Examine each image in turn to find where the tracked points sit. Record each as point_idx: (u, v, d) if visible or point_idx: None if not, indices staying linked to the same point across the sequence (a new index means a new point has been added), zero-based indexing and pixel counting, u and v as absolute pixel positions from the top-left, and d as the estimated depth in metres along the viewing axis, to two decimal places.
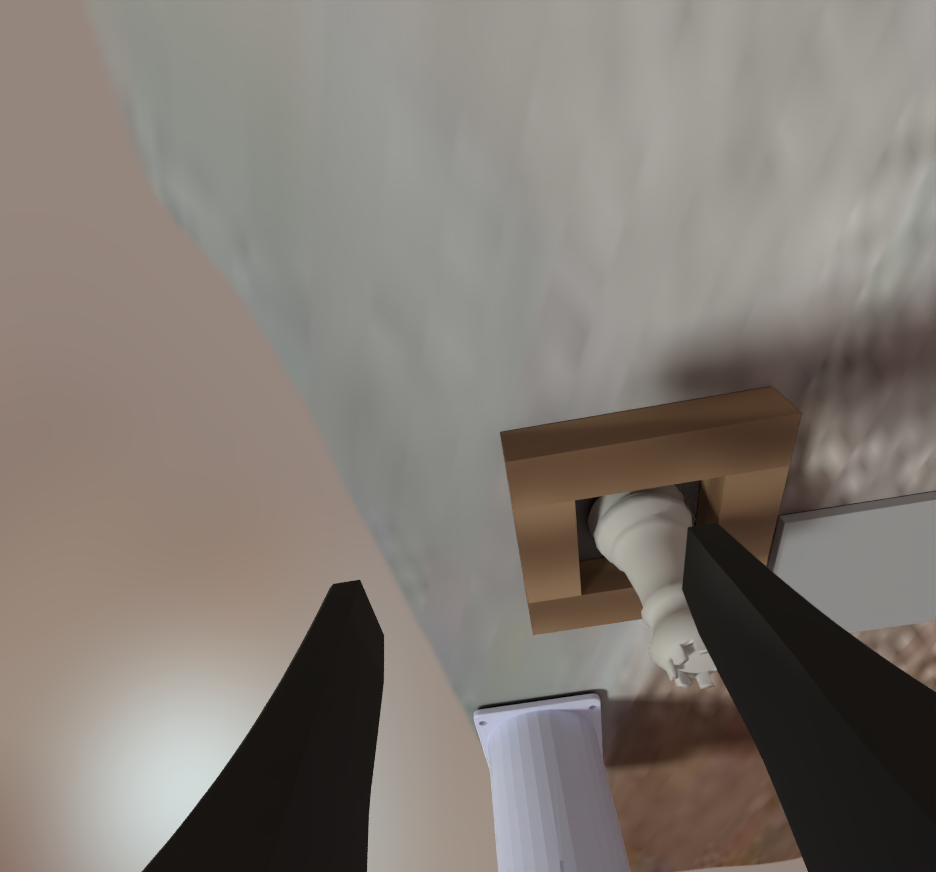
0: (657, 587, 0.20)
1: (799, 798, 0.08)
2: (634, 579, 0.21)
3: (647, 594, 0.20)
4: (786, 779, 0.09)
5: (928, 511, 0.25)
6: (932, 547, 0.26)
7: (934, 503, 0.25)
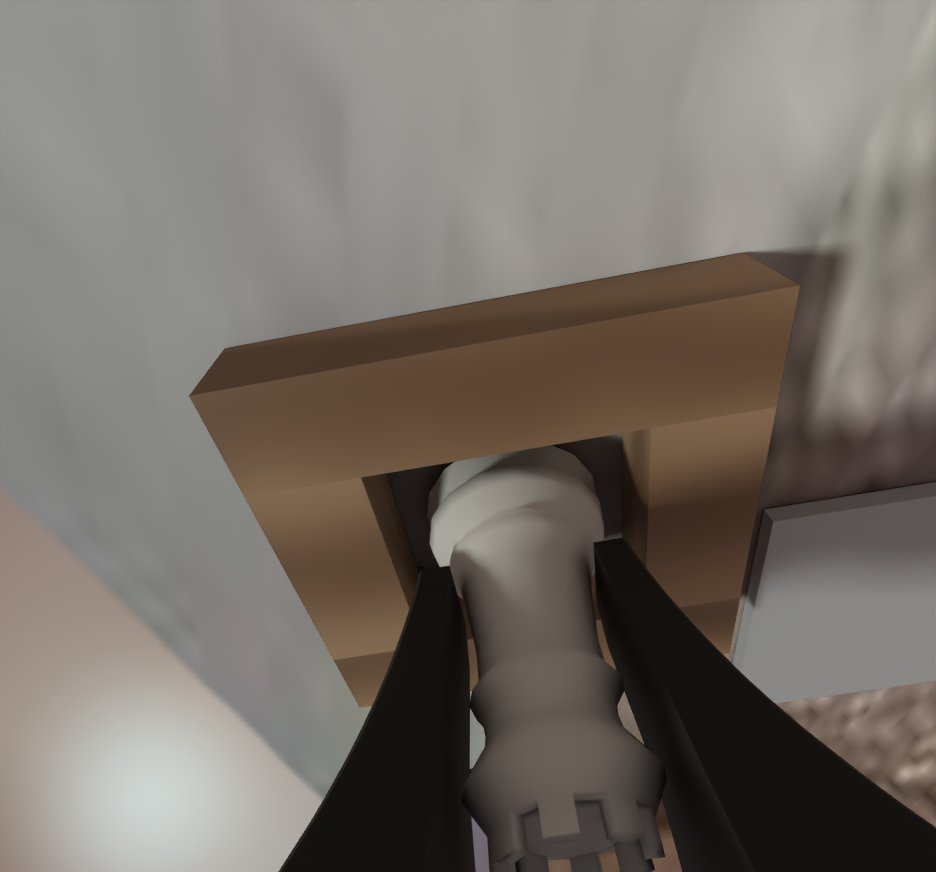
0: (498, 656, 0.09)
1: (676, 814, 0.09)
2: (473, 633, 0.11)
3: (483, 669, 0.10)
4: (668, 795, 0.09)
5: None
6: None
7: None
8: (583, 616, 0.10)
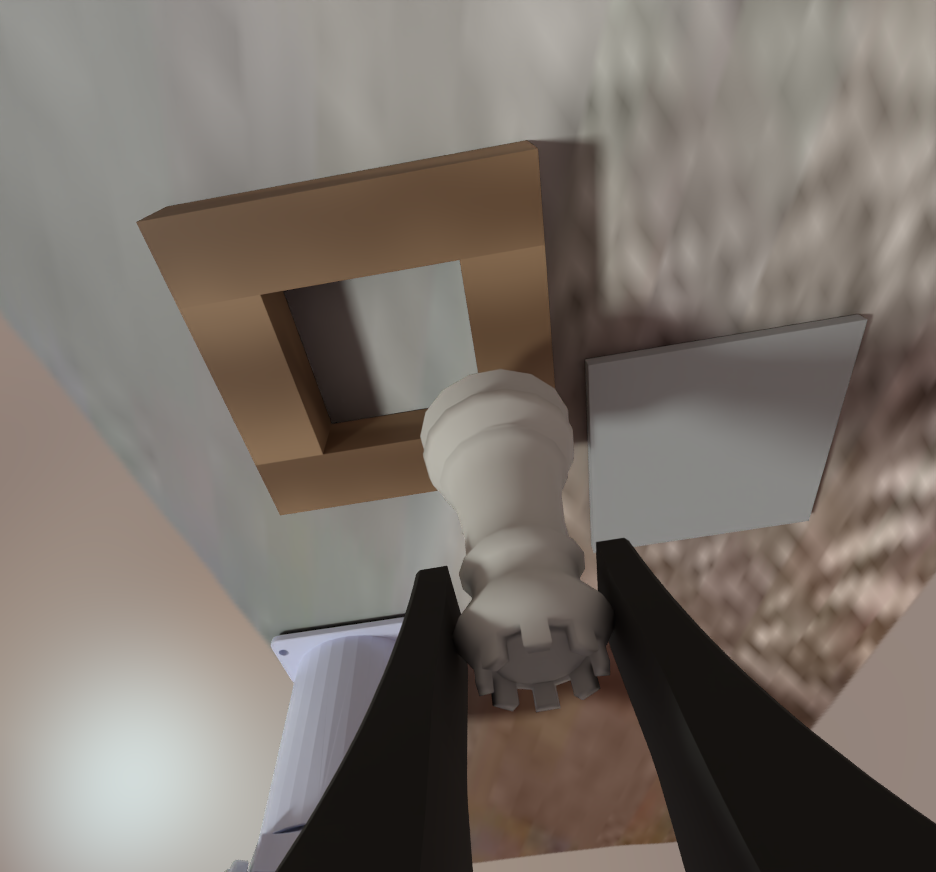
0: (487, 532, 0.11)
1: (679, 814, 0.09)
2: (462, 522, 0.13)
3: (472, 545, 0.12)
4: (671, 794, 0.09)
5: (773, 352, 0.19)
6: (788, 409, 0.21)
7: (778, 340, 0.19)
8: (556, 510, 0.12)
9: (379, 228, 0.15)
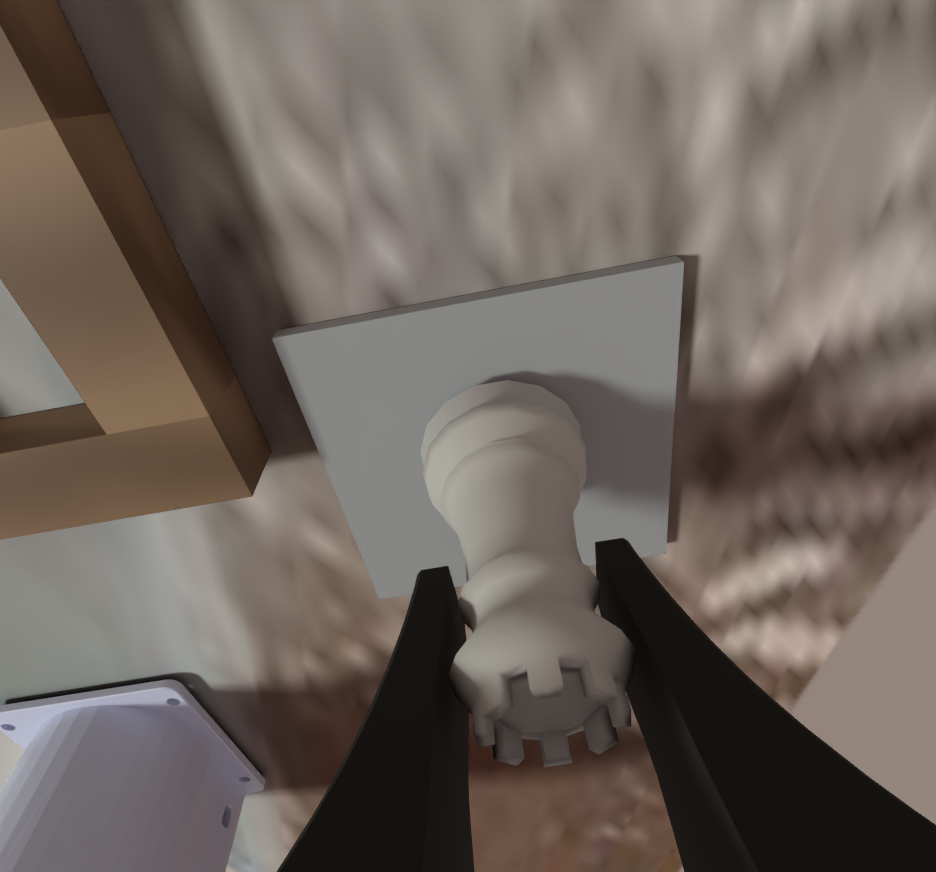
0: (490, 557, 0.10)
1: (678, 814, 0.09)
2: (463, 545, 0.11)
3: (473, 571, 0.10)
4: (670, 795, 0.09)
5: (550, 315, 0.13)
6: (597, 401, 0.14)
7: (554, 295, 0.13)
8: (568, 533, 0.11)
9: None
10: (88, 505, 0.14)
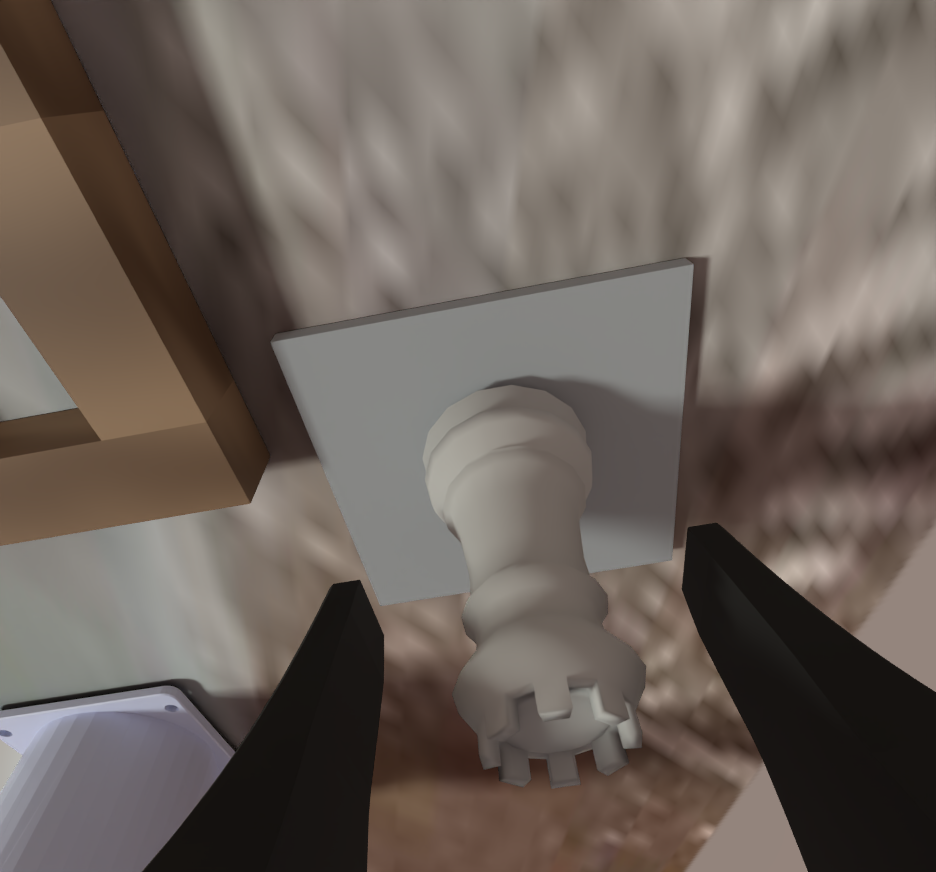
0: (495, 570, 0.10)
1: (799, 798, 0.08)
2: (467, 556, 0.11)
3: (477, 583, 0.10)
4: (786, 779, 0.09)
5: (556, 318, 0.13)
6: (603, 406, 0.14)
7: (559, 299, 0.12)
8: (575, 544, 0.11)
9: None
10: (83, 512, 0.13)
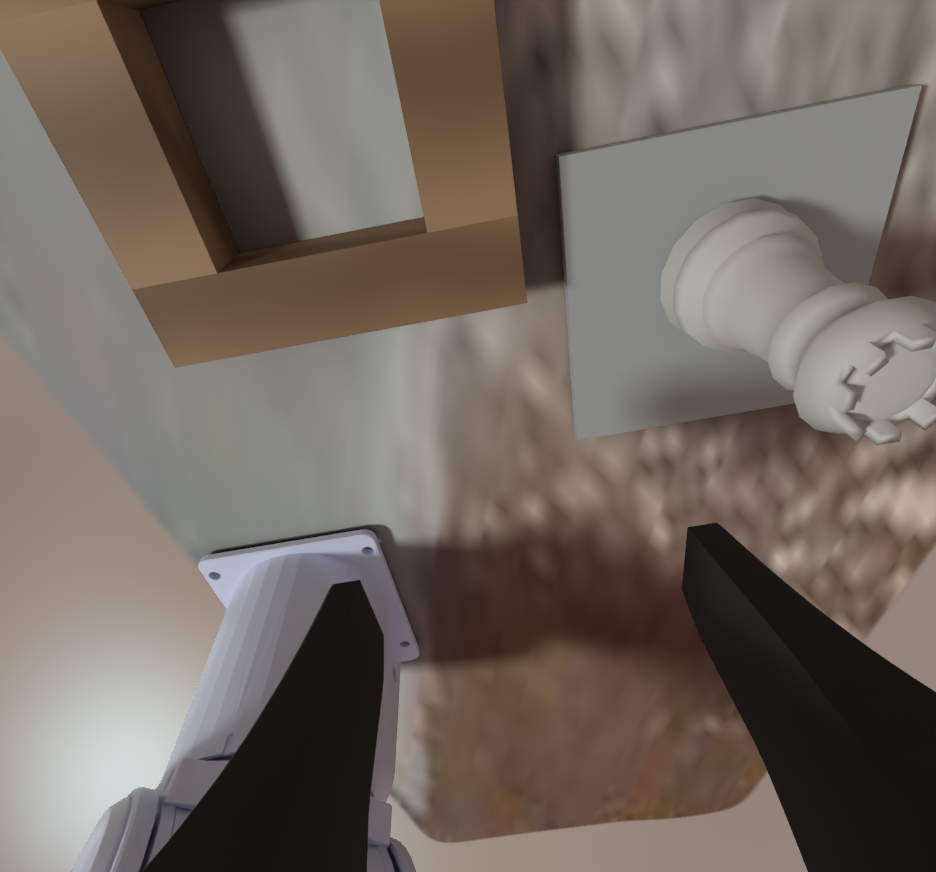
0: (803, 298, 0.12)
1: (799, 798, 0.08)
2: (751, 312, 0.14)
3: (782, 315, 0.13)
4: (786, 779, 0.09)
5: (798, 137, 0.15)
6: (816, 228, 0.17)
7: (805, 117, 0.15)
8: None
9: None
10: (388, 308, 0.16)
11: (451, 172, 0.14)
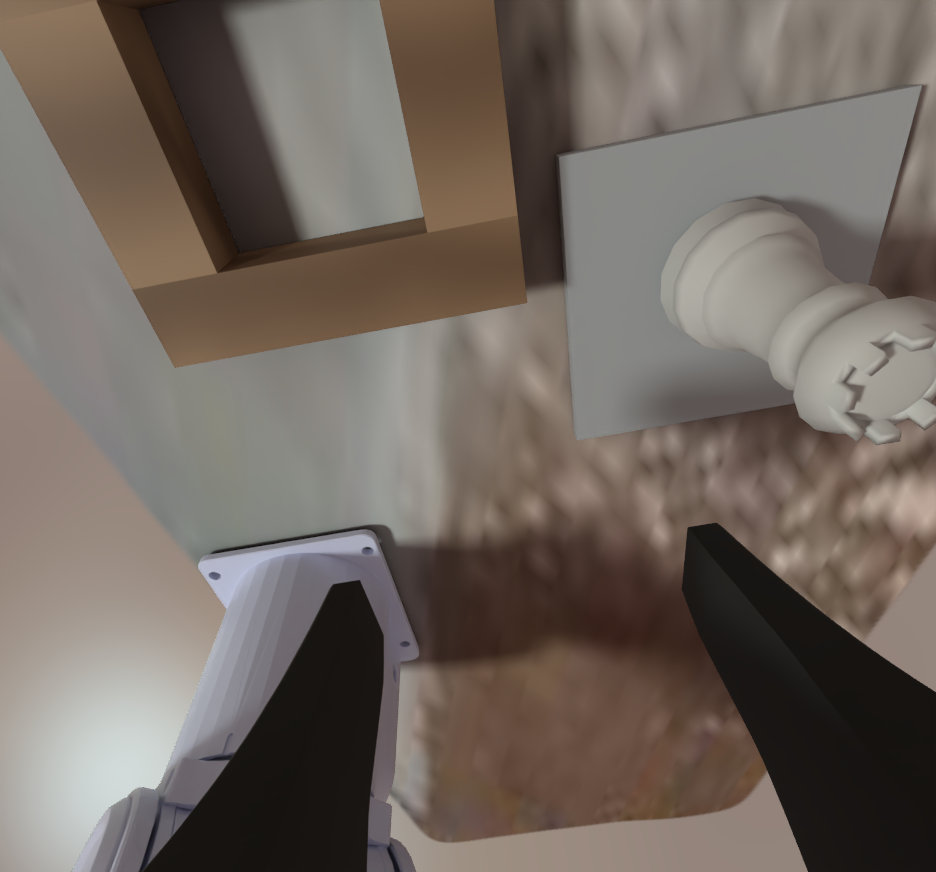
0: (803, 298, 0.12)
1: (799, 798, 0.08)
2: (751, 312, 0.14)
3: (782, 315, 0.13)
4: (786, 779, 0.09)
5: (798, 137, 0.15)
6: (816, 228, 0.17)
7: (805, 117, 0.15)
8: None
9: None
10: (388, 308, 0.16)
11: (451, 172, 0.14)
